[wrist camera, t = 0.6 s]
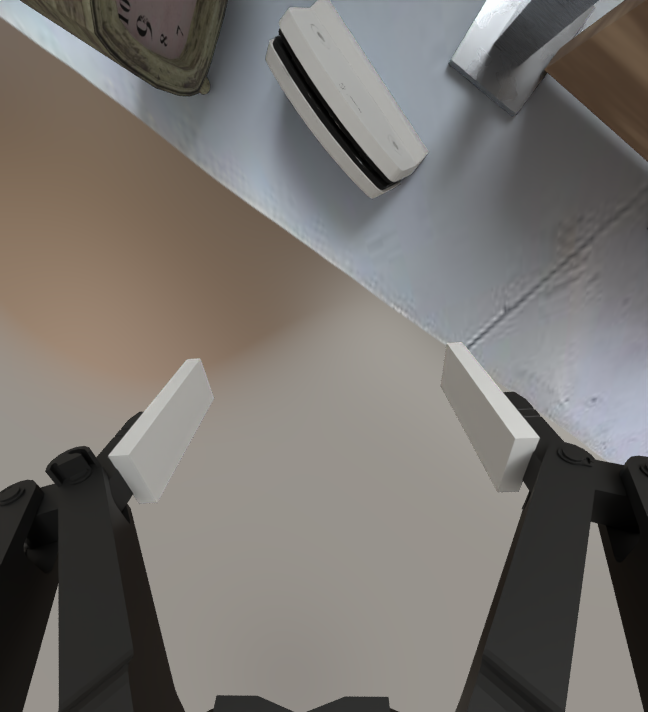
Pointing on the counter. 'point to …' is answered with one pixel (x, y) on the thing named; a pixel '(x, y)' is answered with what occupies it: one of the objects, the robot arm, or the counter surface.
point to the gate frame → (517, 45)
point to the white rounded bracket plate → (343, 98)
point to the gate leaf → (611, 71)
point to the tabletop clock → (147, 36)
